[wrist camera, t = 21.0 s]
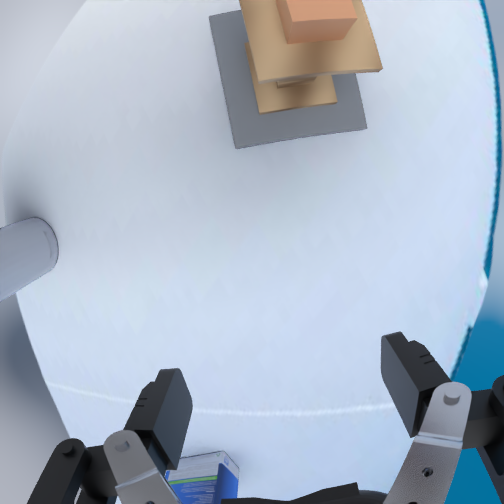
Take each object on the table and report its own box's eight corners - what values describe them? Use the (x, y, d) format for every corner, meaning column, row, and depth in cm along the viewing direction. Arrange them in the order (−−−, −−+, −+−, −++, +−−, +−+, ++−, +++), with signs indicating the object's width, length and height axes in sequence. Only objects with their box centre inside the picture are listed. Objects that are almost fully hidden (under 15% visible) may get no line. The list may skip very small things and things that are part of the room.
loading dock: (236, 149, 38) (235, 148, 36) (211, 23, 33) (208, 16, 31) (361, 130, 37) (367, 128, 34) (330, 8, 32) (333, 0, 30)
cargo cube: (287, 44, 18) (292, 21, 15) (275, -1, 17) (277, -28, 13) (342, 39, 18) (357, 18, 14) (328, -5, 17) (339, -31, 13)
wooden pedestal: (259, 114, 35) (258, 81, 19) (244, 47, 32) (234, -20, 17) (334, 104, 34) (382, 68, 18) (318, 37, 32) (350, -29, 16)
